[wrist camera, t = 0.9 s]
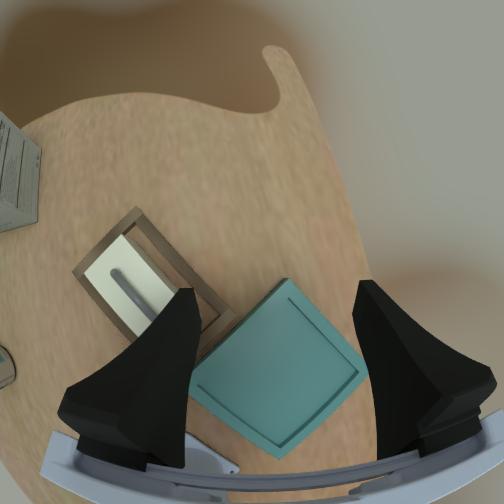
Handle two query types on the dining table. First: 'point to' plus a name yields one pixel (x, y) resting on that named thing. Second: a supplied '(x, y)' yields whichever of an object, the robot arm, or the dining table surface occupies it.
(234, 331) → the tray
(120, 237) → the white block with handle
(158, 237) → the brown flat rectangular frame
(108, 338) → the dining table surface
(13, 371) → the beer can
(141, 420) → the robot arm
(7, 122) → the supplement box
